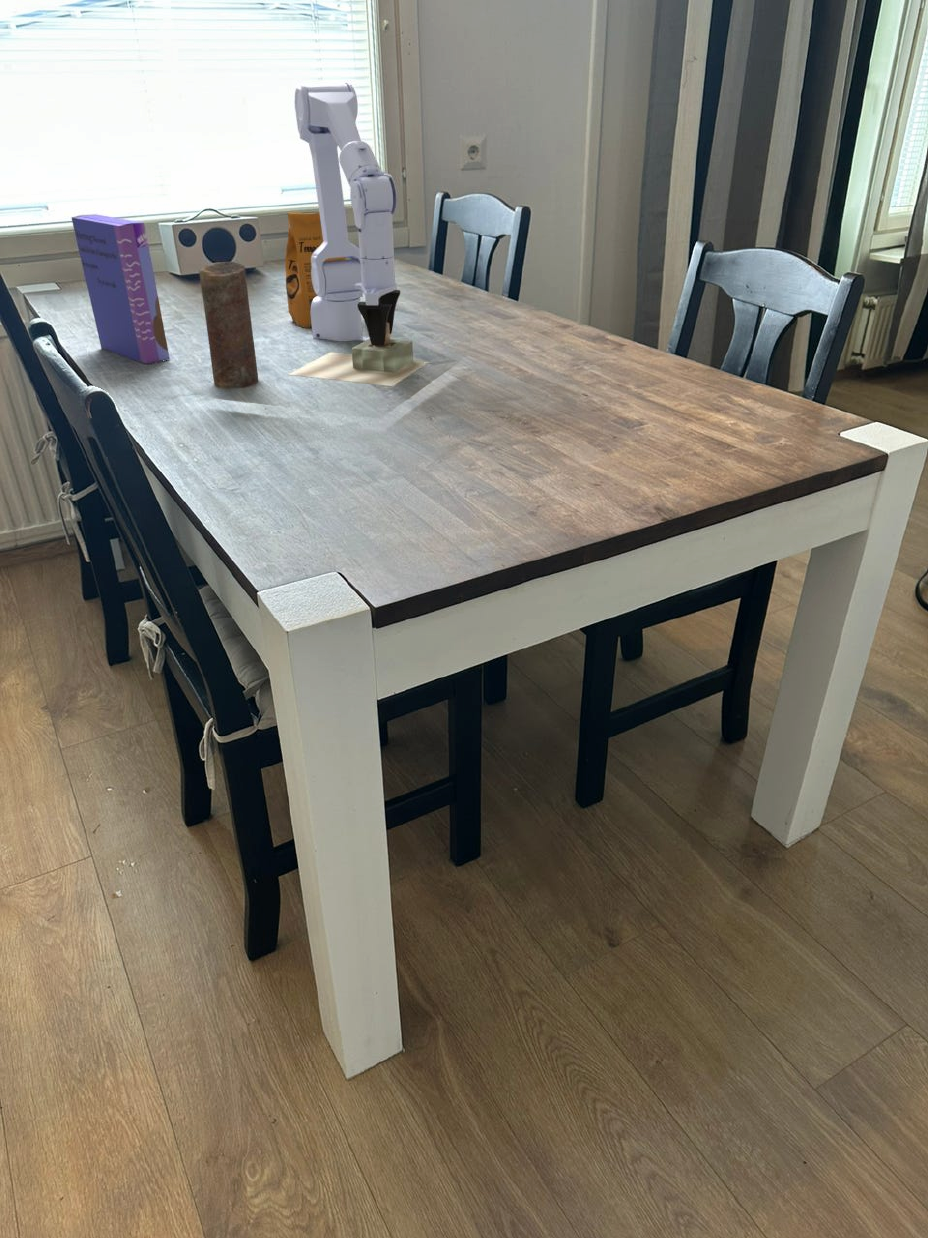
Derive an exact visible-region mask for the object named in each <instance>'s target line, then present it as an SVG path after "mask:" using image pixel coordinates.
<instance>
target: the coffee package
mask: <svg viewBox="0 0 928 1238" xmlns="http://www.w3.org/2000/svg"><path fill="white" fill-rule="evenodd" d="M287 218H288V224H289V227H288V232H287V233H288V235H287V242H286V249H285V250H286V254H285V258H284V259H285V260H284V261H285V269H284V270H285V290H286V297H287V307H288V313H289V315H290V317H291V320H292V322H293V323H295V324H296V325H297V326H298V327H301V328H304V329H306V328H312V323H311V304H312V301H313V299H314V298H315V297H316V296H318V295H317V294H316V293H315V291H314V288H313V284H312V278H311V269H312V266H311V256H312V254H313V253H314V251H315V250H316V249H317V248H318V247H319V246H320V245H321V244H322V243H323V235H322V228H321V221H320V213H319V212H315V213H313V212H311V213H305V212H289V211H287ZM346 258H347V257H339V258H328V259H326V260H325V261H324V262H328V261H339V260H347V259H346Z"/></svg>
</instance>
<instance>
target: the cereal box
mask: <svg viewBox="0 0 928 1238" xmlns="http://www.w3.org/2000/svg"><path fill="white" fill-rule="evenodd" d="M71 222H72V226H73V232H74V236H75V239H76V243H77V249H78V251H79V257H80V262H81V265H82V269H83V273H84V277H85V283H86V286H87V287H86V288H87V293H88V296H89V300H90V301H89V302H90V305H91V310H92V314H93V317H94V322H95V327H96V330H97V335H98V340H99V344H100V348H101V350H103V351H108V352H110V353H113V354H115V355H119V356H121V357H124V358H127V359H129V360H133V361H134V362H138V363H140V364H143V365H146V366H148V364H149V365H153V364H156V363H155V362H158V361H162V362H164V361H163V360H166V359H170V352H169V349H168V343H167V342H168V341H167V337H166V332H165V326H164V322H163V318H162V317H163V315H162V312H161V304H160V300H159V295H158V289H157V285H156V279H155V274H154V268H153V262H152V257H151V252H150V247H149V242H148V236H147V232H146V225H145V222H144V221H143V222H141V221H135V220H130V219H123V218H119V217H118V218H117V217H113V216H108V215H102V214H93V213H92V214H80V215H76V216H72V217H71ZM166 361H167V360H166ZM152 363H153V364H152ZM158 363H159V362H158Z"/></svg>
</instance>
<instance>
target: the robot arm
mask: <svg viewBox="0 0 928 1238" xmlns="http://www.w3.org/2000/svg"><path fill="white" fill-rule="evenodd" d="M357 96H358V95H357V93H356V90H355V88H354V87H353V86H352V84H351V83H350V82H345V83H326V84H325V83H322V84H321V83H320V84H319V83H317V84H315V83H314V84H304V83H299V84H298V85H297V87H296V88H295V92H294V111H295V118H296V125H297V126H296V127H297V131H298V133H299V139H300V140H302V141H304V142H306V143H308V145H309V149H310V151H309V152H310V154H311V160H312V167H313V174H314V183H315V189H316V196H317V197H316V198H317V204H318V206H317V207H318V211H319V213H320V221H321V228H322V235H323V243H322V244H321V245H320V246H319V247H318V248H317V249H316V250H315V251H314V253H313V254H312V256H311V266H312V269H311V278H312V284H313V288H314V291H315V293H316V294H317V295H318V296H316V297H315V298H314V299H313V301H312V304H311V323H312V327H311V331H312V332H311V333H312V338H313V339H319V340H320V339H322V340H329V341H333V342H334V341H335V342H351V341H363V342H364V341H366V340H368V339H370V341H371V344H372V345H373V346H384V343H385V338H386V325H387V323H389V329H390V335H392V332H393V328H394V319H395V312H396V307H397V303H398V301H399V298H400V295H401V290H400V289H398V285H397V282H396V270H395V249H394V247H395V246H394V245H395V244H394V228H393V215H394V214H395V213H396V211H397V208H398V192H397V191H398V190H397V187H396V182H395V180H394V178H393V176H392V175H391V174H390V173H389V174H388V173H387V171H383V170H382V169H381V166H380V165H379V163H378V160H377V158H376V156H375V153H374V151H373V149H372V147H371V146H370V144H368V143H367V142H365V141H362V139H361V137H360V134H359V133H360V132H359V130H358V127H357V123H356V122H357V118H358V112H359V111H358V110H359V107H358V97H357ZM338 147H339V149H340V153H339V151H338ZM340 169H342V172H343V173H344V176H345V179H346V181H347V183H348V185H349V187H350V190H349V191H350V194H349V195H350V196H349V197H350V203H351V204H350V205H351V208H352V212H353V216H354V218H353V219H354V226H355V227H357V233H358V247H357V245H355V244H354V243H352V242H350V239H349V231H348V225H347V216H346V207H345V201H344V192H343V185H342V184H343V183H342V175H341V170H340ZM339 257H346V258H348V259H346V260H339V261H328V262H324V261H325V260H326V259H328V258H339ZM363 294H364V295H363ZM363 297H364V298H365V299H364V300H365V301H361V298H363ZM362 318H363V321H364V323H365V326H366V329H367V333H368V336H363V322H362Z"/></svg>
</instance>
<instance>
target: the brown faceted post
mask: <svg viewBox="0 0 928 1238" xmlns="http://www.w3.org/2000/svg"><path fill="white" fill-rule="evenodd" d="M198 273H199V281H200V287H201V288H200V289H201V296H202V303H203V311H204V315H205V317H204V318H205V325H206V330H207V332H206V333H207V337H208V338H207V340H208V345H209V354H210V362H211V369H212V377H213V379H212V380H213V384H214V386H215V387H217V388H220V389H229V390H230V389H244V388H249V387H251V386H254V385H256V384H257V383H258V382H259V374H258V373H259V372H258V364H257V357H256V349H255V348H256V347H255V341H254V334H253V325H252V318H251V317H252V316H251V309H250V303H249V302H250V301H249V292H248V283H247V275H246V267H245V266H244V265H243V264H242V263H240V262H236V261H235V262H234V261H222V262H220V261H217V262H214V263H210V264H209V265H205V266H204V267H202V268H201V269H199V270H198Z"/></svg>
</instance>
